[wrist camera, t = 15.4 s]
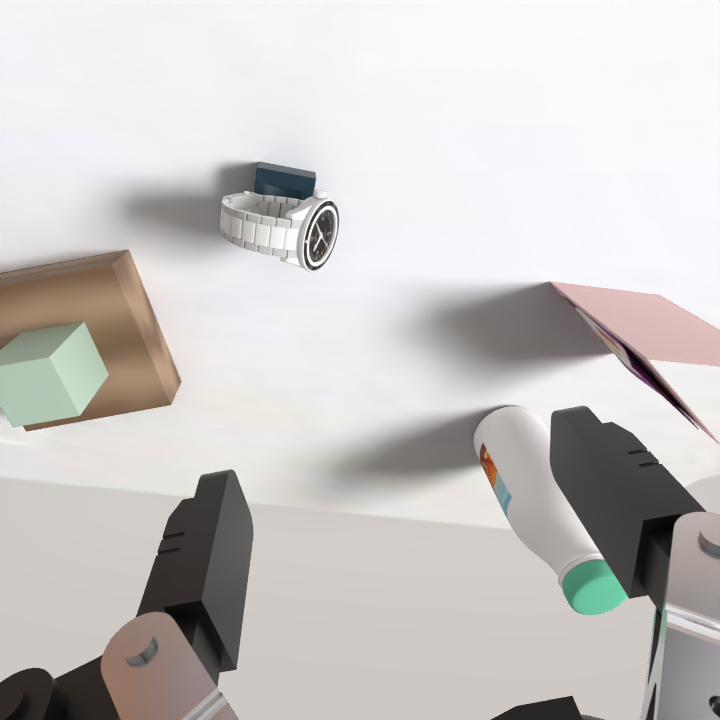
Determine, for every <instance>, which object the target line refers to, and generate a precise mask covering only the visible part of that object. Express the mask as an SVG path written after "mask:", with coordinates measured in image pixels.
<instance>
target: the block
mask: <svg viewBox="0 0 720 720" xmlns="http://www.w3.org/2000/svg"><path fill="white" fill-rule="evenodd" d="M108 375H109V374H108V372H107V370H106V367H105V365H104V363H103V361H102V359H101V357H100V355H99V352H98V350H97V348H96V346H95V344H94V342H93V340H92V338H91V335H90V333H89V331H88V329H87V327H86V325H85V323H84V322H79V323H73V324H67V325H61V326H56V327H50V328H44V329H38V330H33V331H27V332H22V333H20V334H19V335H18V336H17V337H16V338H15V339H13V340H12V341H11V342H10V343H9V344H7V345H6V346H5V347H4V348H3V349H1V350H0V407H1V409H2V411H3V412H4V414H5V416H6V417H7V419H8V420H9V422H10V424H11V425H12V427H19V426H24V425H30V424H36V423H41V422H47V421H53V420H58V419H64V418H70V417H76V416H80V415H81V414H82V412H83V411H84V409H85V408H86V406H87V405H88V404H89V402H90V401H91V399H92V398H93V397H94V395H95V394H96V392H97V391H98V389H99V388H100V387H101V385H102V384H103V382H104V381H105V380H106V378H107V377H108Z"/></svg>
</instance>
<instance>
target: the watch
mask: <svg viewBox="0 0 720 720" xmlns="http://www.w3.org/2000/svg"><path fill="white" fill-rule="evenodd" d="M315 181H316V174H315V172H311V171H306V170H300V169H295V168H290V167H285V166H280V165H275V164H270V163H264V162H260V163H259V165H258V166H257V170H256V181H255V192H249V191H243V193H235V194H230V195H226V196H224V197H223V198H222V203H221V211H220V233H221V235H222V236H223V237H224V238H225V239H227V240H228V241H230V242H231V243H233V244H235V245H237V246H239V247H242V248H245V249H248V250H251V251H254V252H259V253H263V254H267V255H273V256H278V257H281V259H280V260H281V261H283V262H286V263H290V264H293V265H296V266H299V267H302V268H304V269H306V270H307V271H310V272H315V271H317V270H319V269H320V268H321V267H322V266H323V265H324V264H325V263H326V261H327V260H328V258H329V256H330V254H331V252H332V250H333V248H334V245H335V242H336V238H337V234H338V228H339V212H338V208H337V205H336V203H335V202H334V201H333V200H331V199H328V198H325V191H322V190H318V189H315V190H314V188H315ZM272 249H273V253H272Z"/></svg>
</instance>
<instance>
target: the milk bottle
mask: <svg viewBox="0 0 720 720" xmlns="http://www.w3.org/2000/svg"><path fill="white" fill-rule="evenodd" d="M473 443H474V448H475V451H476V453H477V456H478V458H479V460H480V462H481V464H482V467H483V469H484V471H485V473H486V475H487V477H488V479H489V482H490V484H491V486H492V488H493V490H494V492H495V494H496V497H497V499H498V501H499V503H500V505H501V507H502V509H503V511H504V513H505V515H506V517H507V519H508V521H509V523H510V525H511V527H512V528H513V530H514V531H515V533H516V534H517V536H518V537H519V538H520V540H521V541H522V542H523V543H524V544H525V545H526V546H527V547H528V548H529V549H530V550H531V551H532V552H534V553H535V554H536V555H537V556H539V557H540V558H542V559H543V560H544V561H545V562H546V563H547V564H548V565H549V566H550V567H551V568H552V569H553V570H554V571H555V572H556V573H557V575H558V576H559V578H558V582H559V585H560V587H561V588H562V589H563V593H564V595H565V597H566V599H567V601H568V603H569V604H570V606H571V607H572V608H573V609H574V610H575V611H576V612H578V613H581V614H585V615H597V614H601V613H605V612H608V611H610V610H612V609H614V608H616V607H617V606H619V605H620V604H621V603H622V602H623V601H624V600H625V599H626V597H627V594H626V593H625V591H624V590H623V588H622V586H621V585H620V583H619V582H618V580H617V578H616V577H615V575H614V574H613V572H612V571H611V569H610V567H609V566H608V564H607V563H606V561H605V559H604V558H603V556H602V555H601V553H600V551H599V550H598V548H597V547H596V545H595V544H594V542H593V540H592V539H591V537H590V536H589V534H588V532H587V531H586V529H585V528H584V526H583V525H582V523H581V521H580V520H579V518H578V517H577V515H576V513H575V512H574V510H573V509H572V507H571V506H570V504H569V502H568V501H567V499H566V498H565V496H564V494H563V493H562V491H561V490H560V488H559V486H558V485H557V483H556V481H555V479H554V477H553V474H552V471H551V467H550V432H549V430H548V429H547V427H546V426H545V425H544V423H543V422H542V420H541V419H540V418H539V417H538V415H537V414H535V413H534V412H533V411H531V410H529V409H526V408H523V407H518V406H508V407H504V408H500V409H498V410H495V411H493V412H492V413H490V414H488V415H487V416H486V417H485V418H484V419H483V420H482V421H481V422H480V423H479V425H478V426H477V428H476V431H475V433H474V440H473Z"/></svg>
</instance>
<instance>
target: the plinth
mask: <svg viewBox="0 0 720 720" xmlns="http://www.w3.org/2000/svg"><path fill="white" fill-rule="evenodd" d="M79 322H84V323H85V325H86V327H87V329H88V331H89V333H90V335H91V338H92V340H93V342H94V344H95V346H96V348H97V350H98V352H99V355H100V357H101V359H102V361H103V363H104V365H105V367H106V370H107V372H108V374H109V375H108V377H107V378H106V380H105V381H104V382H103V384H102V385H101V387H100V388H99V389H98V391H97V392H96V394H95V395H94V397H93V398H92V399H91V401H90V402H89V404H88V405H87V406H86V408H85V409H84V411H83V412H82V414H81V415H80V416H76V417H70V418H64V419H58V420H53V421H47V422H41V423H36V424H30V425H24V426H23V427H24V429H25V430H26V431H32V430H37V429H42V428H48V427H53V426H59V425H64V424H70V423H75V422H81V421H86V420H92V419H97V418H102V417H108V416H113V415H119V414H124V413H130V412H135V411H141V410H146V409H152V408H157V407H162V406H168V405H171V404H172V401H173V399H174V397H175V395H176V392H177V390H178V388H179V386H180V383H181V380H180V377H179V375H178V372H177V370H176V367H175V365H174V362H173V360H172V357H171V355H170V352H169V350H168V347H167V345H166V342H165V339H164V337H163V334H162V332H161V329H160V327H159V324H158V322H157V319H156V317H155V314H154V312H153V309H152V307H151V304H150V302H149V299H148V297H147V294H146V292H145V289H144V287H143V284H142V282H141V279H140V277H139V274H138V272H137V269H136V267H135V264H134V262H133V259H132V257H131V254H130V252H129V250H126V251H121V252H115V253H110V254H104V255H99V256H93V257H88V258H82V259H77V260H71V261H66V262H60V263H55V264H49V265H44V266H38V267H33V268H27V269H22V270H16V271H11V272H5V273H0V350H1V349H3V348H4V347H5V346H6V345H7V344H9V343H10V342H11V341H12V340H13V339H15V338H16V337H17V336H18V335H19V334H20V333H22V332H27V331H33V330H38V329H44V328H50V327H56V326H61V325H67V324H73V323H79Z"/></svg>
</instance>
